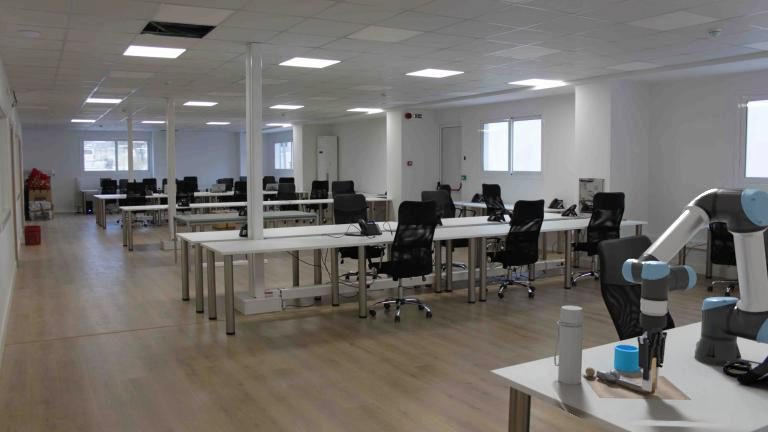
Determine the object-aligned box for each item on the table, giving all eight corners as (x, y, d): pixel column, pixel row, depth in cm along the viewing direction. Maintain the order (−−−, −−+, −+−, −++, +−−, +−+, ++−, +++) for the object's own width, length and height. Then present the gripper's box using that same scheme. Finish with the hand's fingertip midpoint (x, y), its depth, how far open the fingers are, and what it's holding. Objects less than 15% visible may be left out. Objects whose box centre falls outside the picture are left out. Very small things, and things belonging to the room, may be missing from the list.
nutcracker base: (663, 379, 212) (664, 366, 211) (691, 403, 191) (691, 388, 190) (581, 377, 213) (581, 364, 213) (599, 401, 192) (600, 386, 192)
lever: (594, 377, 208) (595, 344, 207) (602, 375, 210) (604, 342, 210) (649, 396, 192) (651, 359, 191) (658, 393, 195) (659, 357, 194)
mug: (631, 376, 215) (632, 352, 214) (609, 370, 221) (609, 347, 220) (649, 369, 222) (650, 346, 222) (627, 363, 229) (628, 341, 228)
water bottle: (585, 383, 207) (588, 307, 205) (573, 389, 202) (576, 311, 200) (560, 376, 214) (562, 303, 212) (547, 382, 208) (550, 306, 206)
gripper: (655, 307, 201) (651, 380, 202) (627, 314, 190) (624, 391, 192) (678, 311, 195) (675, 387, 196) (651, 318, 185) (647, 398, 186)
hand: (649, 388), depth 194 cm, fingers open, 3 cm apart
